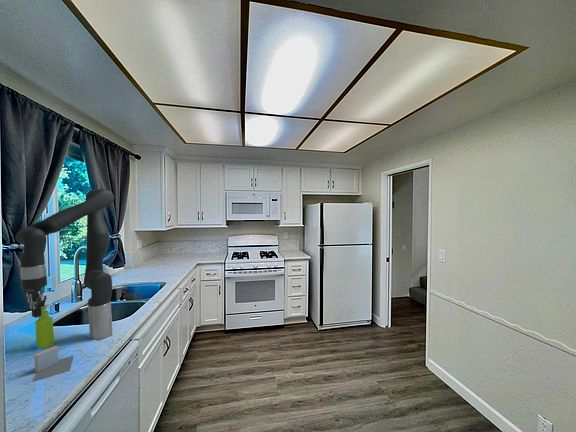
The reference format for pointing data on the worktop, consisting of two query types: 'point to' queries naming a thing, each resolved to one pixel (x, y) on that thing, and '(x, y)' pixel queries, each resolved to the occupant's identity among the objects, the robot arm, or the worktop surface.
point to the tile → (46, 358)
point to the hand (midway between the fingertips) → (36, 316)
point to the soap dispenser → (44, 329)
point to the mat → (55, 369)
